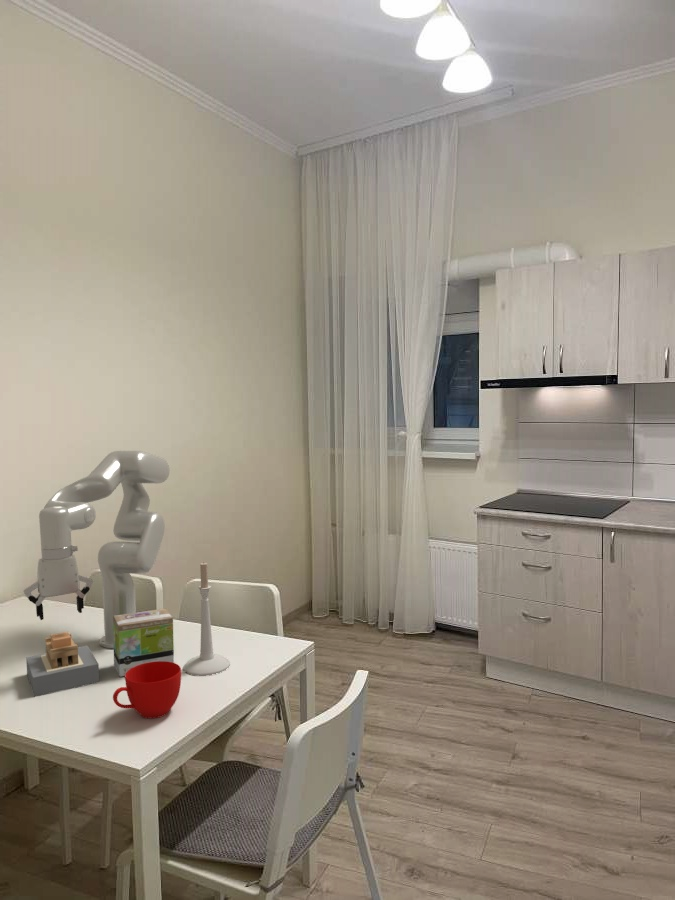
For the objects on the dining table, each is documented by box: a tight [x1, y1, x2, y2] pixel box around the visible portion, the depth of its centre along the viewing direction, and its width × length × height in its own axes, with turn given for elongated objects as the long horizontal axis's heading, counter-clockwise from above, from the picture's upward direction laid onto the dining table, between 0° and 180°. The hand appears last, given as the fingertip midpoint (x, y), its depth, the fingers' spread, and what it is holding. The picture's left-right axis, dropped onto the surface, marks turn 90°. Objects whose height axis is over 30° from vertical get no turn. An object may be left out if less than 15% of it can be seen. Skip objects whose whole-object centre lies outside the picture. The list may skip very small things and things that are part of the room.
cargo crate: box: [50, 631, 72, 649], centre depth 177 cm, size 4×5×3 cm
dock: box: [26, 645, 100, 697], centre depth 177 cm, size 16×16×5 cm
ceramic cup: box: [112, 661, 182, 719], centre depth 155 cm, size 13×17×10 cm
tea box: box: [113, 608, 175, 678], centre depth 184 cm, size 15×10×15 cm
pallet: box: [44, 632, 79, 669], centre depth 177 cm, size 7×11×5 cm, turn 31°
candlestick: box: [183, 562, 231, 677], centre depth 183 cm, size 13×13×30 cm
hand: (60, 614), depth 177 cm, fingers open, 9 cm apart
